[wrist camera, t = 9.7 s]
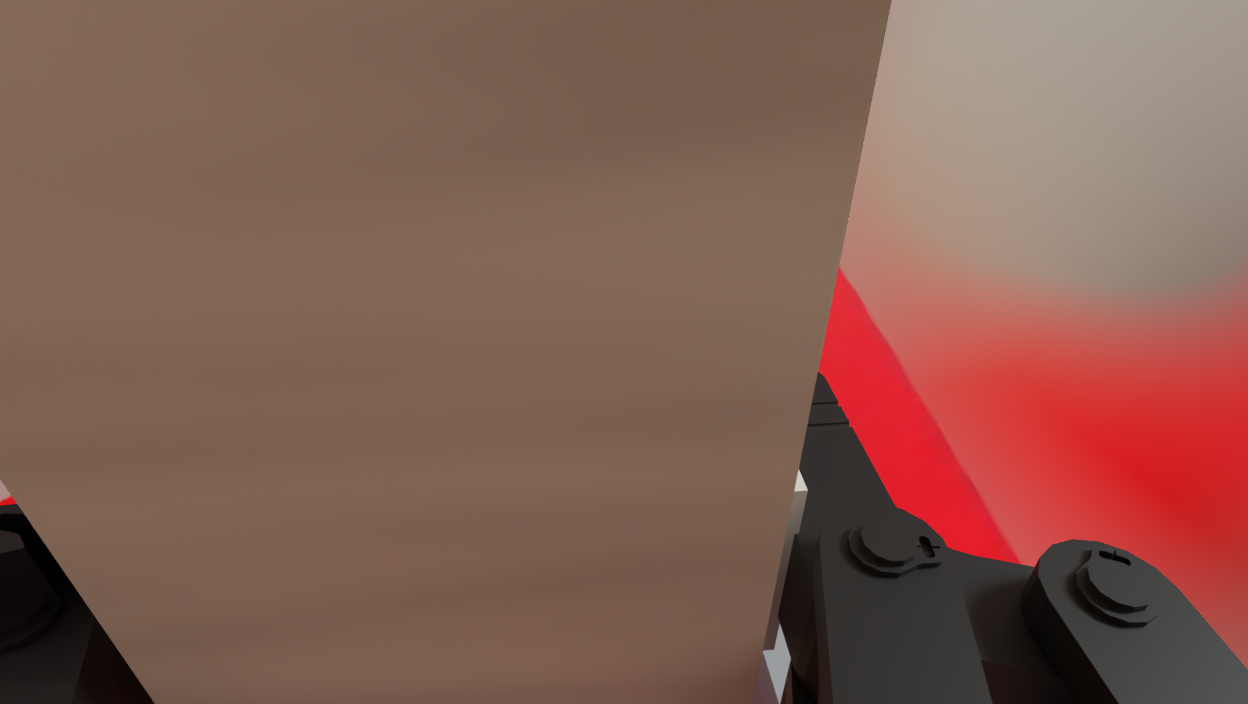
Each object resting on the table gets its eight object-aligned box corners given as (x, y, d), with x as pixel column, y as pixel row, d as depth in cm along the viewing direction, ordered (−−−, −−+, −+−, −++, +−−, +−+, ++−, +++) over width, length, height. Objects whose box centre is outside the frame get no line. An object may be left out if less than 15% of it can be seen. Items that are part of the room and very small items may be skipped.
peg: (692, 1007, 12) (917, -135, 3) (390, 1046, 12) (-427, -143, 3) (653, 716, 16) (698, -140, 7) (429, 737, 16) (168, -144, 7)
